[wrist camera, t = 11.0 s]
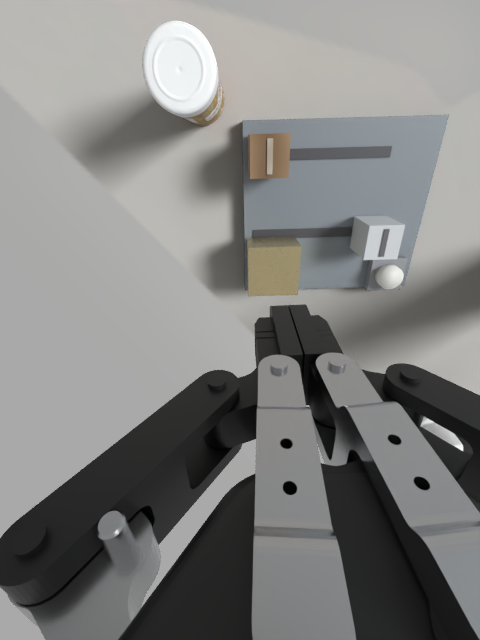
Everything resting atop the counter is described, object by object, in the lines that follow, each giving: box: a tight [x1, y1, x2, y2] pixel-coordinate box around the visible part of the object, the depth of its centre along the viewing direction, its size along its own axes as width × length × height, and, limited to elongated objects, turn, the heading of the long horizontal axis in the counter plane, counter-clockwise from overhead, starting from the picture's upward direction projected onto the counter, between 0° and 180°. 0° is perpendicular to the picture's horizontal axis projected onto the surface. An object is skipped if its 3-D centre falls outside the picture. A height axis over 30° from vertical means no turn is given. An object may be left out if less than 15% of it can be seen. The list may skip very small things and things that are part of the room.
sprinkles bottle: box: [142, 21, 224, 126], centre depth 24 cm, size 5×5×14 cm
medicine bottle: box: [421, 417, 473, 454], centre depth 45 cm, size 7×7×12 cm
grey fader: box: [350, 216, 405, 260], centre depth 33 cm, size 4×4×5 cm
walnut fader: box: [248, 133, 291, 179], centre depth 29 cm, size 4×4×5 cm
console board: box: [242, 115, 449, 290], centre depth 33 cm, size 20×18×5 cm
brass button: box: [247, 237, 301, 296], centre depth 35 cm, size 6×6×4 cm
